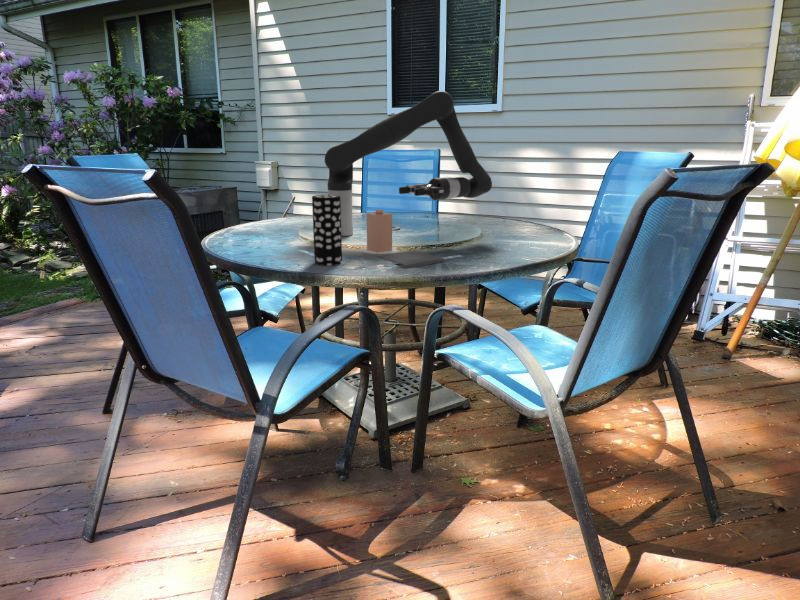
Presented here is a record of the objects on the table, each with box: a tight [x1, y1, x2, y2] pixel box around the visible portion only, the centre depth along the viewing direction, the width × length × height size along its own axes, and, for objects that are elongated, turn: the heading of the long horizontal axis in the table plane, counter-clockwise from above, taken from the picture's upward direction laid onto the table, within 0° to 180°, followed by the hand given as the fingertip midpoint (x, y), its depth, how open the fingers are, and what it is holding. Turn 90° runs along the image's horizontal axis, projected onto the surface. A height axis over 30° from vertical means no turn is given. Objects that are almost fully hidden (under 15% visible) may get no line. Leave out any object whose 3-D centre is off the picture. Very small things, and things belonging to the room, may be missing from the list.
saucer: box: [361, 247, 399, 255], centre depth 185 cm, size 12×12×4 cm
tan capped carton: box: [366, 209, 393, 253], centre depth 184 cm, size 6×6×13 cm
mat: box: [376, 250, 445, 269], centre depth 174 cm, size 15×15×1 cm
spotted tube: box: [311, 194, 343, 267], centre depth 168 cm, size 8×8×20 cm
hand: (407, 191), depth 187 cm, fingers open, 8 cm apart
